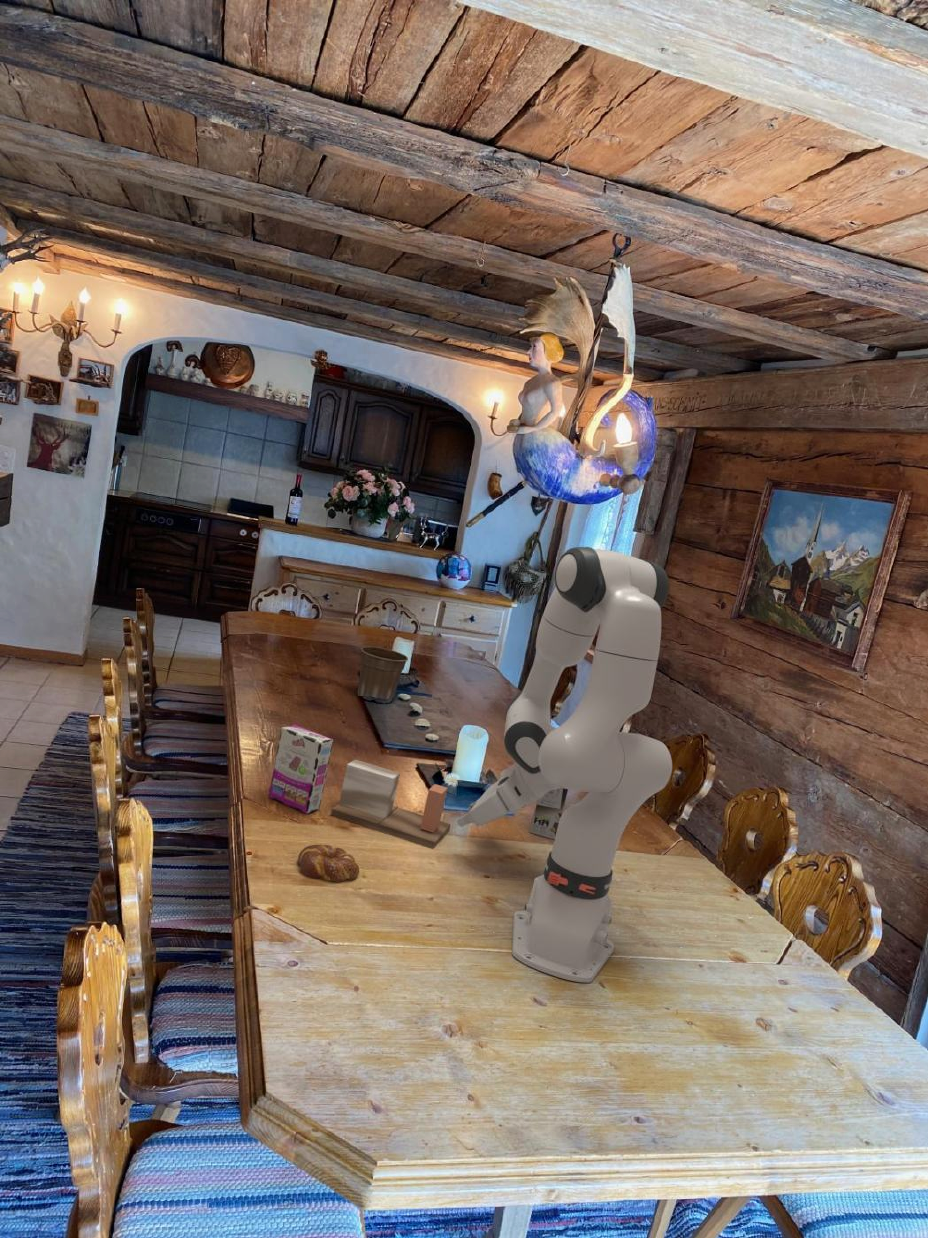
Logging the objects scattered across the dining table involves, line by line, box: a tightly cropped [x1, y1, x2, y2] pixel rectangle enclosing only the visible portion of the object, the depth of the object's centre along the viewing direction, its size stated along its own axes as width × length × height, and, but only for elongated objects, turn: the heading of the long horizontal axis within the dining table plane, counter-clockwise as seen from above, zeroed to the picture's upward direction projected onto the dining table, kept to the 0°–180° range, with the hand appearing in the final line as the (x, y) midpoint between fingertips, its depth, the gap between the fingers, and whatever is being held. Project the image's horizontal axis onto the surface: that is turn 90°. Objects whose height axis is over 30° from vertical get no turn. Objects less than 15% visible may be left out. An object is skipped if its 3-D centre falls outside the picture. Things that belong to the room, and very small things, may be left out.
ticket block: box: [330, 759, 451, 850], centre depth 190 cm, size 12×24×11 cm, turn 74°
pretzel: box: [297, 844, 360, 883], centre depth 162 cm, size 12×11×4 cm
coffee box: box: [529, 787, 569, 840], centre depth 205 cm, size 9×6×16 cm
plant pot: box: [356, 646, 409, 699], centre depth 290 cm, size 16×16×16 cm
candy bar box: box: [268, 724, 334, 814], centre depth 188 cm, size 11×5×16 cm, turn 62°
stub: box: [420, 783, 448, 833], centre depth 187 cm, size 4×3×9 cm, turn 164°
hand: (465, 816), depth 185 cm, fingers open, 8 cm apart
